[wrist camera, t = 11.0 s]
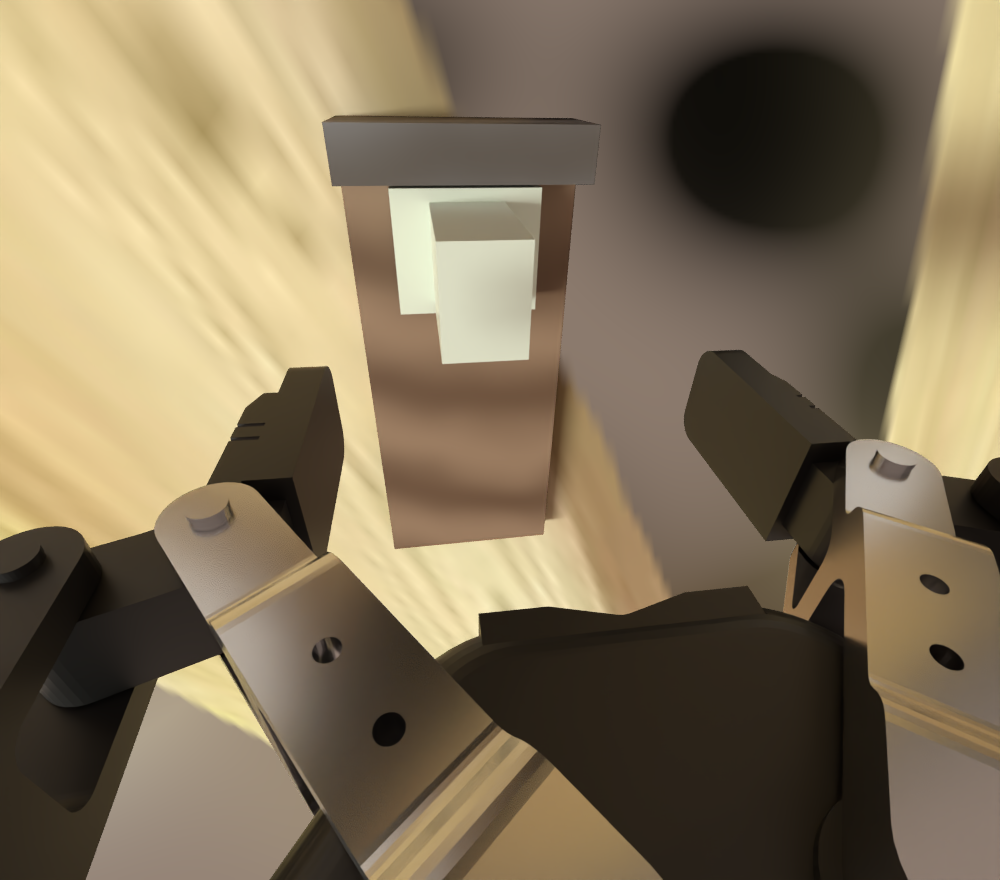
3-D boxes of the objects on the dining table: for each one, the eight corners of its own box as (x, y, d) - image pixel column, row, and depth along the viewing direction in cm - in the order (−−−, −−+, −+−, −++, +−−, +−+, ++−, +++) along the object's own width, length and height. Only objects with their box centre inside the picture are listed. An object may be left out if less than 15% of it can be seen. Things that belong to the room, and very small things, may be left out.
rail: (335, 115, 21) (322, 122, 18) (572, 118, 22) (601, 124, 19) (395, 533, 35) (394, 580, 31) (539, 520, 36) (552, 563, 33)
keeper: (389, 180, 21) (381, 224, 15) (531, 179, 22) (584, 221, 15) (401, 298, 24) (398, 379, 17) (526, 294, 25) (569, 370, 18)
